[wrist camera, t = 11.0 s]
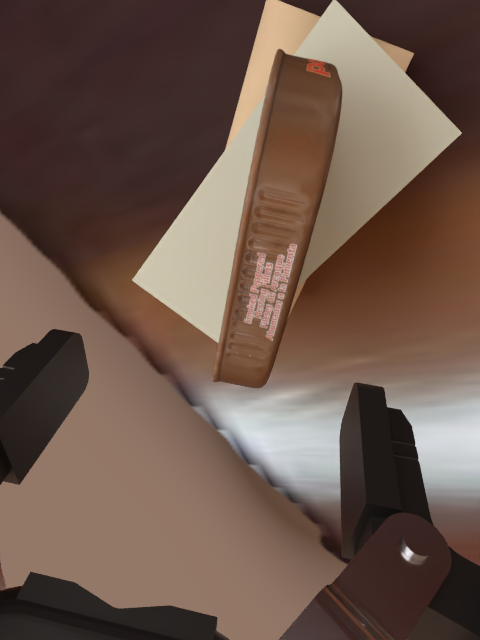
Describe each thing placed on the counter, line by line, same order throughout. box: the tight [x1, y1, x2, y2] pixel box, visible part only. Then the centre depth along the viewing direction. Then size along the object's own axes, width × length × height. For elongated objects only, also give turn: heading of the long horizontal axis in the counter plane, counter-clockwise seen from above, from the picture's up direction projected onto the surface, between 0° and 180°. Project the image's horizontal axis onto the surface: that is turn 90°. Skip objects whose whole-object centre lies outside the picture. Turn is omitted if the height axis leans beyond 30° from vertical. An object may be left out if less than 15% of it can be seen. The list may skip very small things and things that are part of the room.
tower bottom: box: [225, 0, 414, 317], centre depth 28 cm, size 8×18×4 cm, turn 162°
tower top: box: [132, 0, 462, 343], centre depth 24 cm, size 8×18×4 cm, turn 142°
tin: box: [213, 49, 342, 388], centre depth 19 cm, size 15×3×8 cm, turn 170°
